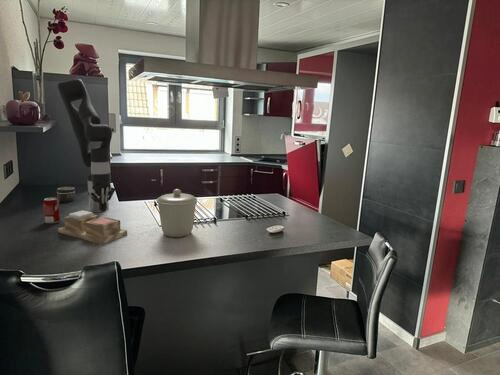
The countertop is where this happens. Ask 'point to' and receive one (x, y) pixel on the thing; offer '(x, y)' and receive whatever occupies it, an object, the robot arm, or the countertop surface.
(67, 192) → the jar
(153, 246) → the countertop surface
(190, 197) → the canister
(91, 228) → the frame
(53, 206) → the soda can
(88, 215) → the white key
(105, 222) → the red key
